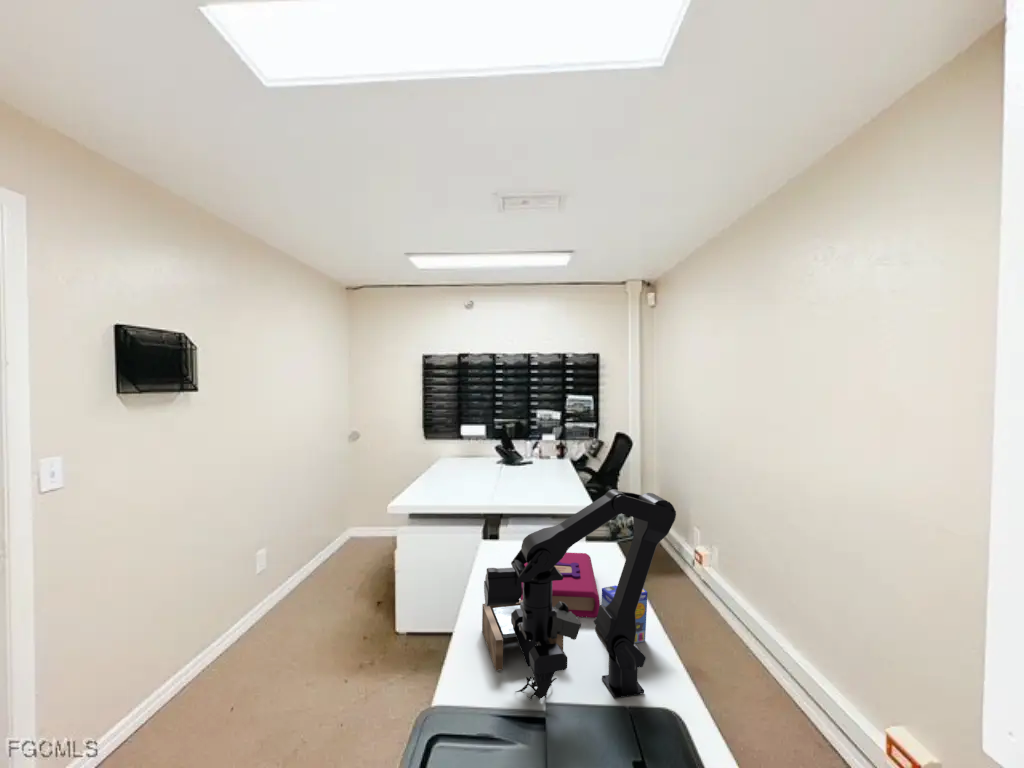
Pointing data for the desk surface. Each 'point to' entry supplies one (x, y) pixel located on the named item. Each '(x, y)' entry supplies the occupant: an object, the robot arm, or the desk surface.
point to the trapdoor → (505, 620)
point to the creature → (533, 687)
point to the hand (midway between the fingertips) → (536, 680)
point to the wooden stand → (495, 637)
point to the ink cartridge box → (639, 614)
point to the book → (576, 585)
